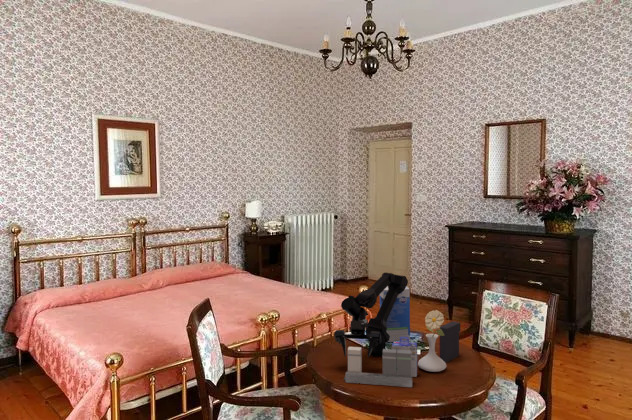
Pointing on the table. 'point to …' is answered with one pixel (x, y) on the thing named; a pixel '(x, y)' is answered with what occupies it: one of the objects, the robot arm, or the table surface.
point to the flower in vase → (433, 343)
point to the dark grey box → (449, 341)
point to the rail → (378, 379)
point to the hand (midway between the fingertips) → (356, 356)
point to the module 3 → (404, 362)
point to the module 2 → (389, 361)
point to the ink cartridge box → (407, 346)
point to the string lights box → (398, 316)
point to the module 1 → (355, 359)
